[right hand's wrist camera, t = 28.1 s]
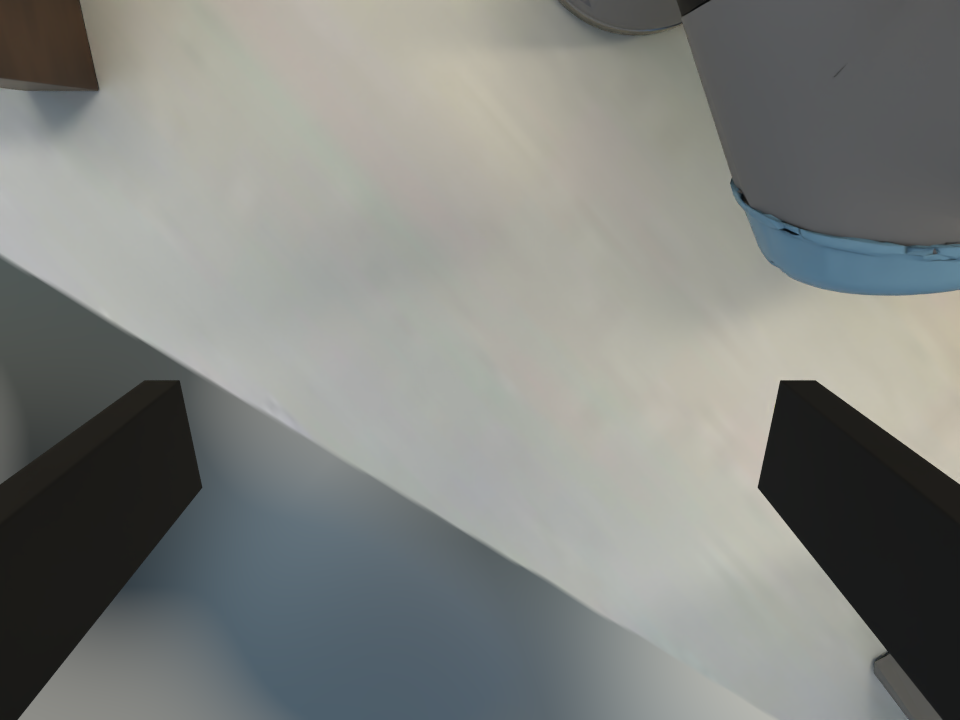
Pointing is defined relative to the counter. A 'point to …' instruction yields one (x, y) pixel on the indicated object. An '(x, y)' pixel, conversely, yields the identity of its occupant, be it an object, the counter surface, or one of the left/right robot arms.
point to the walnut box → (44, 46)
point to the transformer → (903, 690)
